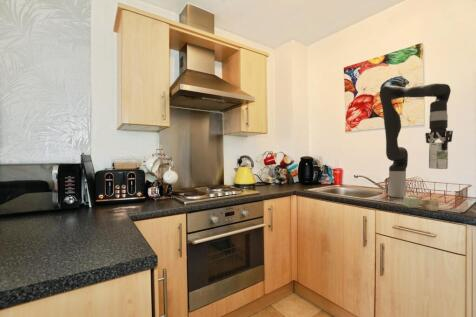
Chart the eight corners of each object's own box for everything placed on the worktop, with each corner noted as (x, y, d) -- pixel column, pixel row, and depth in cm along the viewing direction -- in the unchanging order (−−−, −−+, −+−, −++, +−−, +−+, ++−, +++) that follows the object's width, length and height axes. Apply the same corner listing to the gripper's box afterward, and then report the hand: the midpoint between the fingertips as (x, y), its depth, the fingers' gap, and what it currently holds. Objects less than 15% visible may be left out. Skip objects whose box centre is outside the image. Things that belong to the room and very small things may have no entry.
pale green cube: (408, 203, 130) (408, 195, 130) (412, 202, 132) (412, 194, 132) (418, 205, 126) (418, 196, 126) (422, 204, 128) (422, 195, 128)
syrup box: (439, 168, 128) (439, 142, 128) (448, 168, 122) (448, 142, 122) (428, 168, 129) (428, 142, 128) (436, 169, 123) (436, 142, 123)
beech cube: (420, 208, 119) (420, 199, 119) (428, 208, 120) (428, 198, 120) (431, 211, 114) (431, 201, 114) (438, 210, 115) (438, 200, 115)
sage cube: (403, 205, 127) (403, 196, 126) (413, 205, 126) (413, 196, 125) (408, 207, 122) (408, 198, 122) (418, 207, 121) (418, 198, 121)
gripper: (420, 122, 132) (420, 150, 132) (444, 118, 117) (444, 150, 118) (432, 122, 132) (432, 150, 133) (458, 118, 118) (458, 150, 118)
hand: (438, 150), depth 125 cm, fingers closed on syrup box, 6 cm apart
